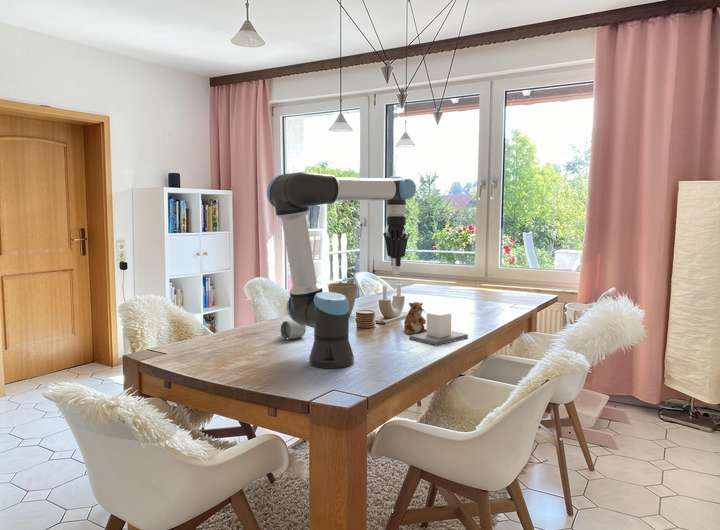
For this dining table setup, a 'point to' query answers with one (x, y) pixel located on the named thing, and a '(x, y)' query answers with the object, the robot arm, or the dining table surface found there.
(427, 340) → the post base
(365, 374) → the dining table surface
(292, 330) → the ceramic mug
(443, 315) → the white rounded cube
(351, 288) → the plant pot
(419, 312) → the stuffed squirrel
